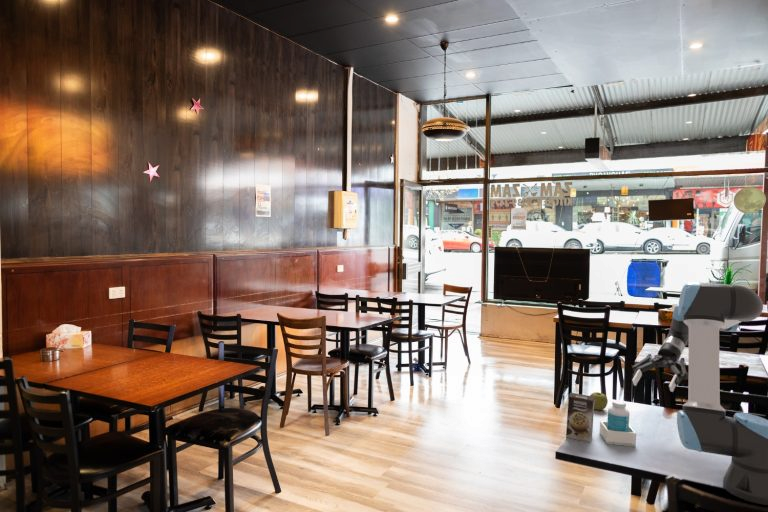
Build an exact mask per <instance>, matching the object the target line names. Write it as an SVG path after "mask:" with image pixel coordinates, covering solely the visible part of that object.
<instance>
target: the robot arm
mask: <svg viewBox="0 0 768 512" xmlns="http://www.w3.org/2000/svg"><path fill="white" fill-rule="evenodd" d="M763 311H764V303H763V301H762V298H761V297H760V295H758V293H756V292H755V291H754V290H752V289H750V288H749V287H747V286H743V285H739V284H727V283H725V284H724V283H711V282H700V281H699V282H687V283H685V284H684V285H683V287H682V288H681V292H680V296H679V301H678V304H676V305H675V306H674V308H673V311H672V312H673V313H672V316H671V317H672V319H671V324H670V327H669V332H668V334H667V336H666V338H665V339H664V341H663V343H662V345H660V348H659V350H658V351H657V355H655V356H654V355H652V354H651V353H649V354H647V356H646V357H644V358H642V359H641V360H640V361H638V362H637V363H635V364H634V365H632V366H631V367H632V369H633V375H632V376H633V378H632V379H631V381H632V384H633V386H635V387H637V385H638V383H639V381H640V379H641V378H642V376H643V373H645V372H648V371H650V370H652V369H656V368H665V369H669V368H670V369H671V371H672V372H673V373H674V375H673V377H672V379H671V381H670V383H669V384H668V388H669V391H670V392H672V393H674V391H675V388H676V386H678V385H680V383H681V381H682V380H688V388H687V389H688V396H687V397H688V400H687V401H686V402H685V403H684V404H682V409H679V410H678V411H677V412H676V425H677V431H678V432H677V433H678V435H679V439H680V442H681V444H682V446H683V447H684V448H685V449H688V450H692V451H696V452H699V453H708V454H714V455H721V456H726V457H727V456H728V457H731V462H730V465H729V467H727V468H728V469H727V470H726V471H725V474H724V476H723V480H722V487H723V488H724V489H725V491H727V493H729V494H731V495H733V496H735V497H737V498H738V499H742V500H744V501H747V502H751V503H754V504H760V505H766V506H768V419H767V418H764V417H761V416H758V415H755V414H751V413H747V412H746V413H745V412H736V413H734V415H733V417H730V416H726V414H727V413H726V409H725V408H724V407H723V406H722V405H721V399H720V398H721V395H720V392H721V391H720V385H721V384H720V383H721V381H720V378H721V377H720V376H721V375H720V374H721V373H720V372H721V371H720V332H726V333H728V332H731V333H733V332H734V333H735V332H737V331H738V328H739V324H740V323H742V322H745V323H746V322H751V321H753V320H755V319H757V318H758V317H760V315H762V312H763ZM687 345H688V371H687V369H686V364H687V363H686V360H685V358H684V357H681V356H682V354H683V352H684V350H685V348H686V347H687ZM677 364H678V365H680V368H681V371H682V373H681V372H680V370H679V368H677V366H676V365H677ZM687 372H688V373H687Z"/></svg>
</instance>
